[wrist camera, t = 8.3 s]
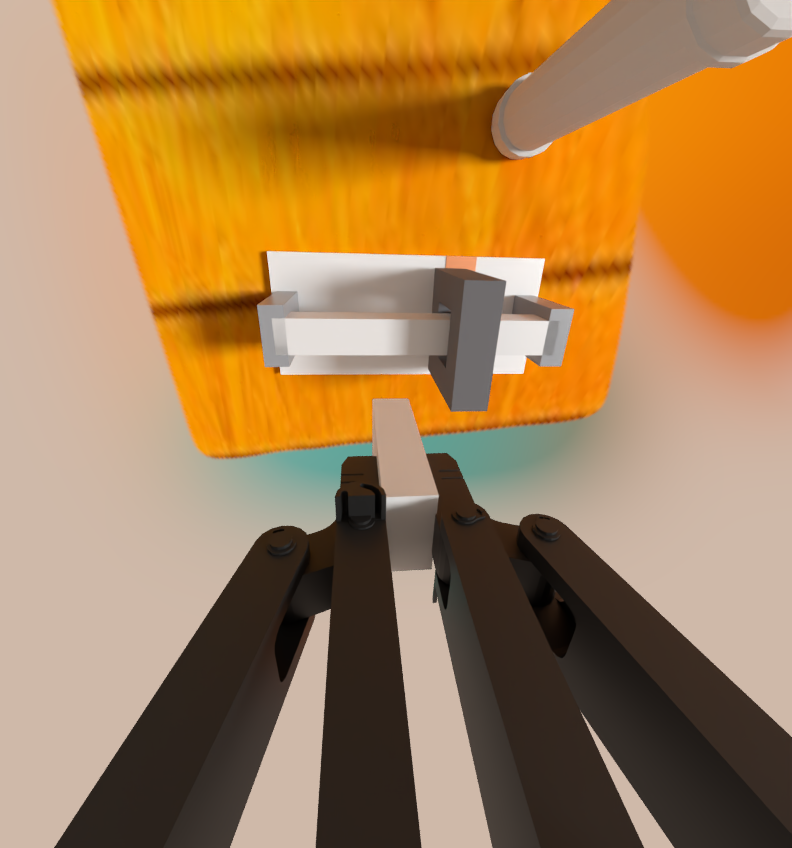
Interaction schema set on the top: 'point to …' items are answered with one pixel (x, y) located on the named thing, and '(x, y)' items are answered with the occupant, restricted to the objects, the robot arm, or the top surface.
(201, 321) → the top surface
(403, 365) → the rail
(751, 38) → the pipe
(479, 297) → the collar
